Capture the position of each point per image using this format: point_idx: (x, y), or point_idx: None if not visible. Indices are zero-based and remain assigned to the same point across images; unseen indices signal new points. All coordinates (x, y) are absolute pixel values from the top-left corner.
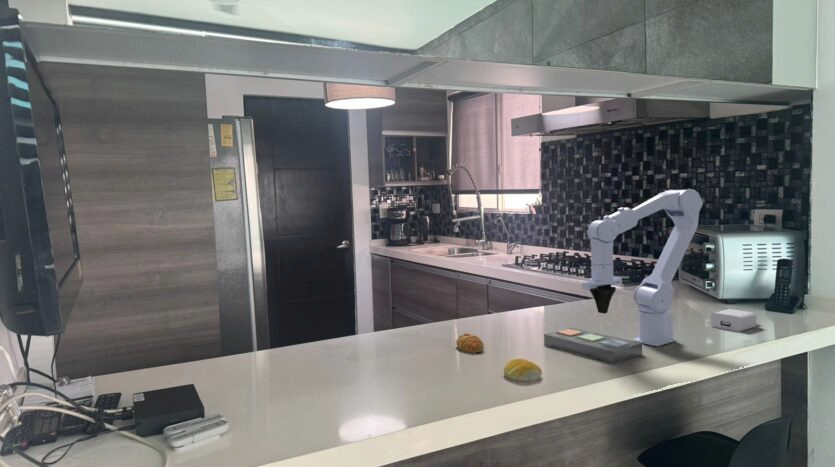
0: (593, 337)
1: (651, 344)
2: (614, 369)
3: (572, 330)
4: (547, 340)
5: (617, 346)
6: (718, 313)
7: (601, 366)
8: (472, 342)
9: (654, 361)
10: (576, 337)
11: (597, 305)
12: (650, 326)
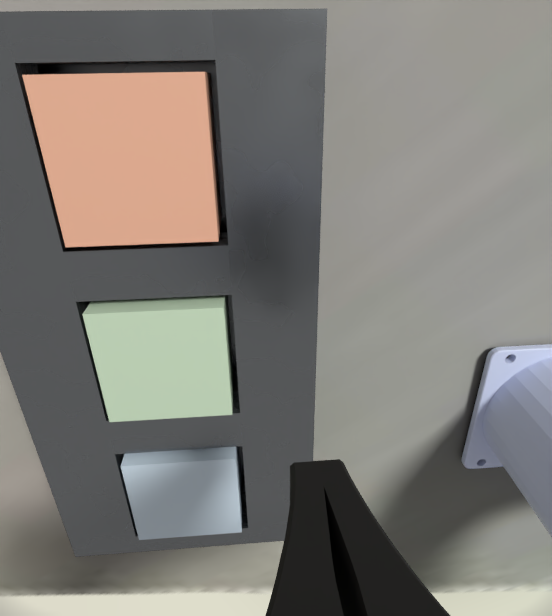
0: (166, 384)
1: (466, 444)
2: (41, 544)
3: (189, 146)
4: None
5: (145, 537)
6: None
7: (17, 506)
8: None
9: (256, 552)
10: (93, 289)
11: (289, 533)
12: (534, 509)
